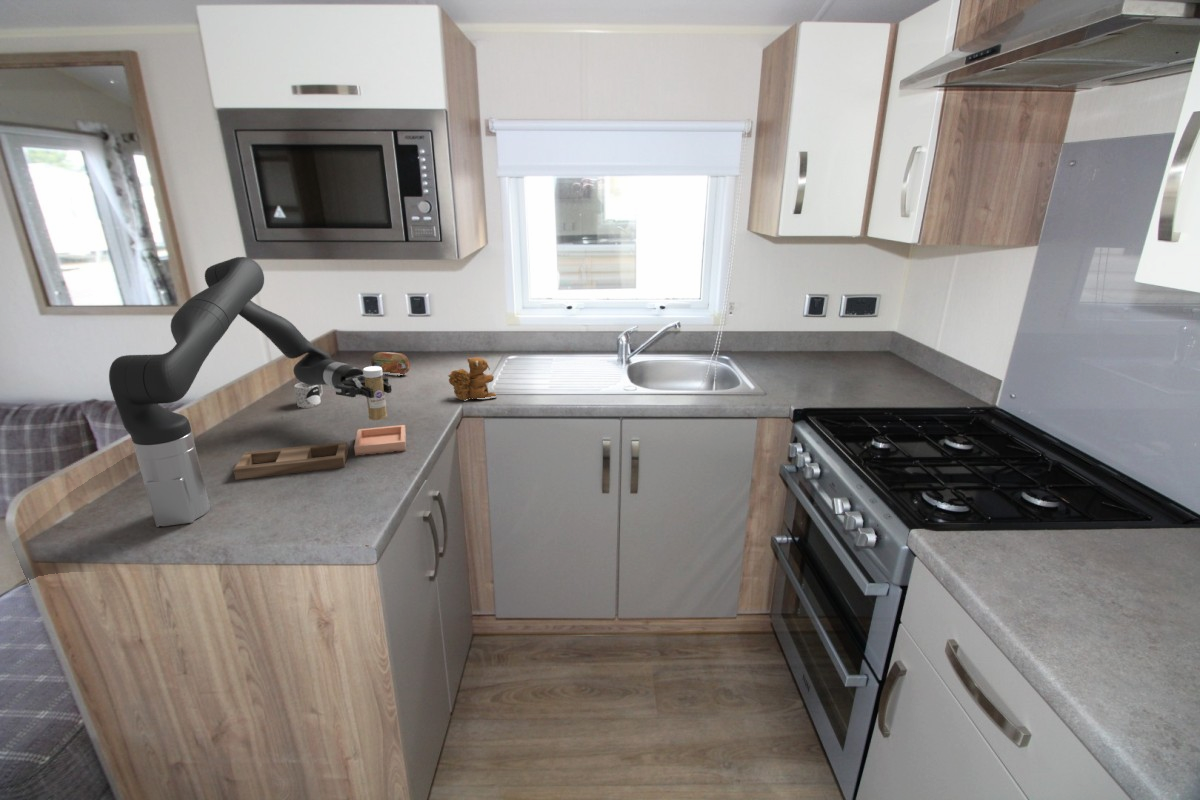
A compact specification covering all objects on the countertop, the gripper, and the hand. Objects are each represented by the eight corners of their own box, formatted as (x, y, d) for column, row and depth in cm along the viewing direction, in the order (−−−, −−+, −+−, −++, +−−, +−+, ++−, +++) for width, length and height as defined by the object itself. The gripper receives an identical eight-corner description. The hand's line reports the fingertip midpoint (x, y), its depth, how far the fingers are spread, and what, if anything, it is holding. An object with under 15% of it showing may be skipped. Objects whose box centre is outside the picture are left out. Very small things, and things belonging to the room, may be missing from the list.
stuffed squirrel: (499, 398, 185) (497, 359, 181) (457, 405, 178) (454, 365, 174) (488, 390, 193) (486, 352, 189) (447, 396, 186) (444, 358, 182)
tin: (372, 373, 210) (369, 351, 207) (377, 371, 213) (374, 349, 210) (407, 377, 206) (404, 355, 203) (412, 375, 209) (410, 353, 206)
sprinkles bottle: (377, 422, 144) (371, 371, 140) (364, 418, 146) (358, 368, 142) (391, 416, 148) (385, 367, 144) (379, 413, 150) (373, 364, 146)
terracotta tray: (405, 450, 146) (404, 441, 145) (355, 456, 142) (354, 446, 142) (405, 433, 157) (404, 424, 156) (359, 437, 153) (357, 429, 152)
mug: (311, 409, 174) (308, 388, 172) (292, 407, 175) (288, 386, 173) (332, 398, 183) (329, 379, 181) (314, 397, 184) (310, 377, 182)
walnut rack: (344, 467, 136) (343, 457, 136) (235, 479, 130) (233, 469, 129) (348, 450, 145) (347, 441, 145) (246, 461, 139) (244, 452, 138)
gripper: (316, 370, 146) (353, 384, 136) (367, 359, 157) (404, 371, 147) (320, 397, 149) (356, 413, 139) (370, 384, 159) (407, 398, 150)
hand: (381, 391), depth 143 cm, fingers closed on sprinkles bottle, 4 cm apart
